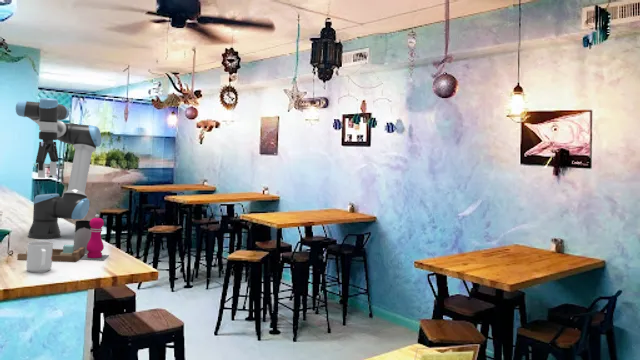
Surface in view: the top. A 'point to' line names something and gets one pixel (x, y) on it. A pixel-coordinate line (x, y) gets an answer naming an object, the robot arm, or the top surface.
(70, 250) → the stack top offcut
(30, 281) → the top surface
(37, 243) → the mug
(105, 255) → the mat
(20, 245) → the top surface
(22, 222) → the top surface
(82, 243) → the glass holder
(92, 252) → the pepper mill
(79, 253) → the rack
